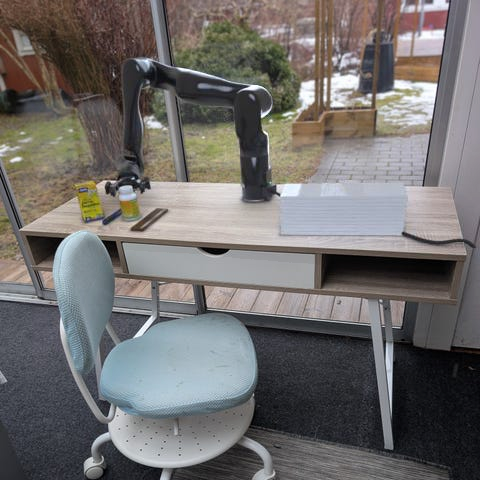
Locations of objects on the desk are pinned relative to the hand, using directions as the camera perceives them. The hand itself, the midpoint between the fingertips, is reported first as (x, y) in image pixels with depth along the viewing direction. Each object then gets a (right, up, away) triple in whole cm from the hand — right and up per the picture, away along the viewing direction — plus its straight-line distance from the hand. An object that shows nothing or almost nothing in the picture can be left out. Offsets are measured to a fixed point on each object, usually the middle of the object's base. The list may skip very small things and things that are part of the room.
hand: (127, 192), depth 147 cm
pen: (-4, -7, +4) cm, 9 cm away
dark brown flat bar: (+7, -9, -1) cm, 11 cm away
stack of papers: (+63, -14, -16) cm, 66 cm away
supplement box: (-12, -7, +5) cm, 15 cm away
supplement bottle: (+1, -7, +2) cm, 8 cm away
